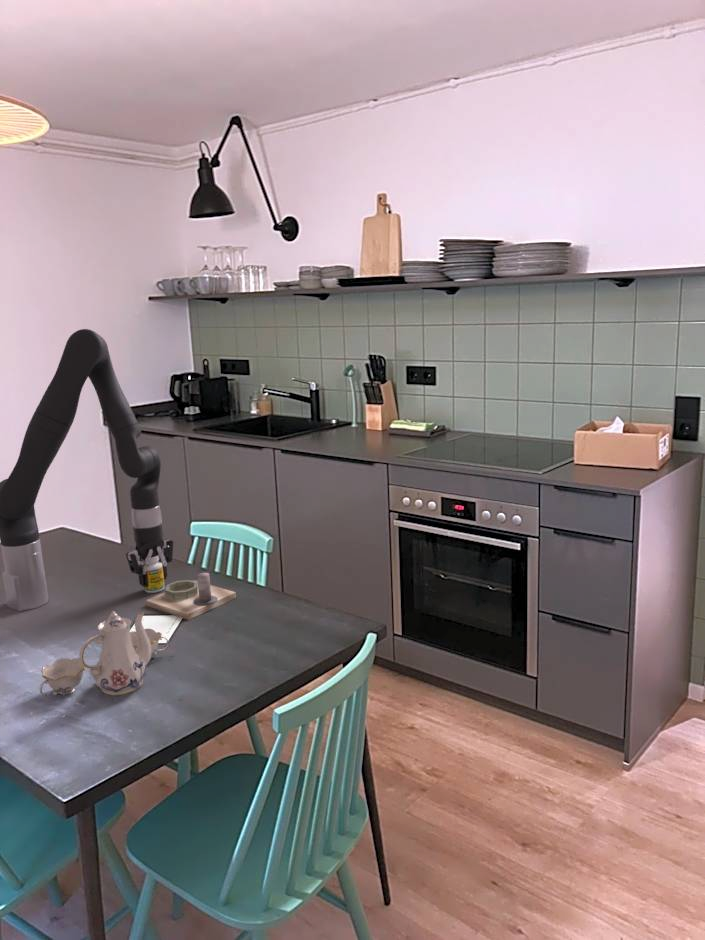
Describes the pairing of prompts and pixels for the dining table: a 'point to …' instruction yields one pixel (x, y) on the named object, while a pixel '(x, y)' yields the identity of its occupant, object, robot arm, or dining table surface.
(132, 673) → the chinaware
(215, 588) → the board
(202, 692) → the dining table surface
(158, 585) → the supplement bottle
